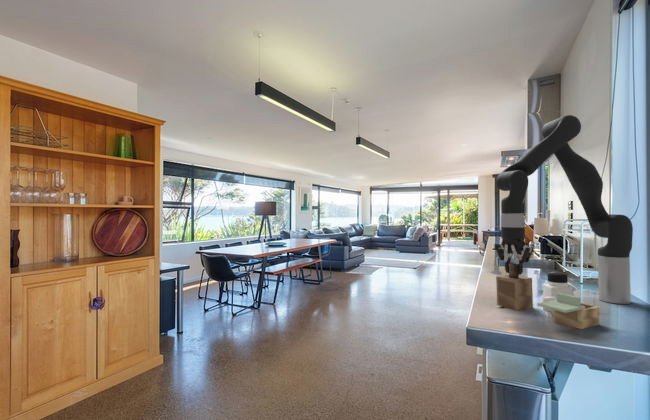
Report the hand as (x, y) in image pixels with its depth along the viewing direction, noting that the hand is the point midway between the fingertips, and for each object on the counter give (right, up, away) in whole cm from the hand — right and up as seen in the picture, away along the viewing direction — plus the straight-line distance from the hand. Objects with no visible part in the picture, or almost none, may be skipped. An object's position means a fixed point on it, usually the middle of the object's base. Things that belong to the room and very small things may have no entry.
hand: (513, 273), depth 117 cm
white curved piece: (+9, -12, -6) cm, 16 cm away
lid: (+2, -6, -21) cm, 22 cm away
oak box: (+8, -12, -19) cm, 24 cm away
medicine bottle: (+18, -13, +3) cm, 22 cm away
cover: (0, -12, 0) cm, 12 cm away
